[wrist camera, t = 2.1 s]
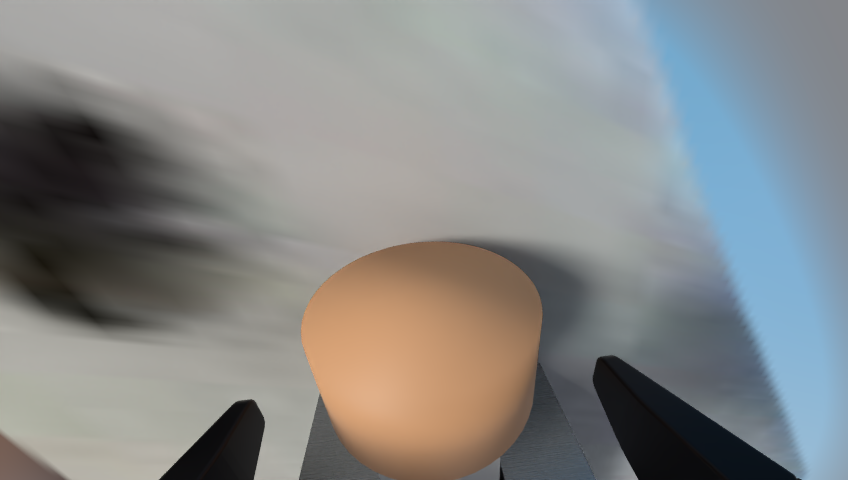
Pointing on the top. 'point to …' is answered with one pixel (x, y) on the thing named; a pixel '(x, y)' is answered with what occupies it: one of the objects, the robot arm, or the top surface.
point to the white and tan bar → (426, 358)
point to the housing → (519, 466)
